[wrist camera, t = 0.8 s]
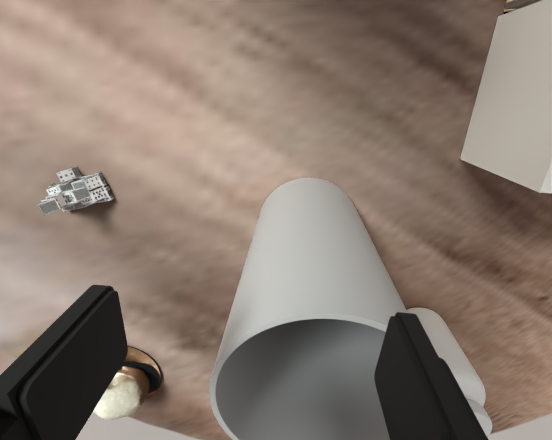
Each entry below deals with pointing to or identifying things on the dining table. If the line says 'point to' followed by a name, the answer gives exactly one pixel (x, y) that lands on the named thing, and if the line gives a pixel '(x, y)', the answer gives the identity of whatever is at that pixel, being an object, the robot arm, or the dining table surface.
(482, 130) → the carton
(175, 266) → the dining table surface
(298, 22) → the dining table surface
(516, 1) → the door
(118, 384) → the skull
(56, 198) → the house of cards
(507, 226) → the dining table surface
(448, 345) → the pill bottle
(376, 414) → the cylinder vase
